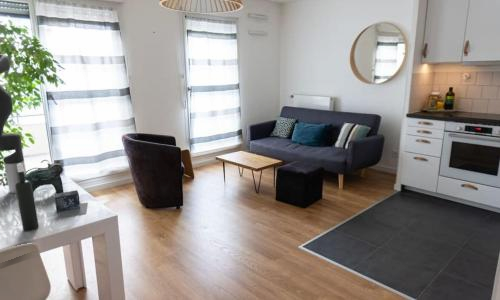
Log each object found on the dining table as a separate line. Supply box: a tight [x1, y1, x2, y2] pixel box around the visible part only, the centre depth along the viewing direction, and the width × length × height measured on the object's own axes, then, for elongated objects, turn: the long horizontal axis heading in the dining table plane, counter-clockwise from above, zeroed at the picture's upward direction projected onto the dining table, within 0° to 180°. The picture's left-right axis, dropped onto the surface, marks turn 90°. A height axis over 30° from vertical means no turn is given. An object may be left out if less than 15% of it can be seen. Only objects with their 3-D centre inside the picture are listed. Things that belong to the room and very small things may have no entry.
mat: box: [57, 202, 89, 219], centre depth 165 cm, size 14×12×1 cm
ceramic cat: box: [25, 159, 64, 196], centre depth 180 cm, size 20×6×20 cm, turn 136°
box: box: [53, 189, 81, 213], centre depth 165 cm, size 8×6×11 cm
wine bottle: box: [15, 163, 40, 232], centre depth 143 cm, size 6×6×30 cm
